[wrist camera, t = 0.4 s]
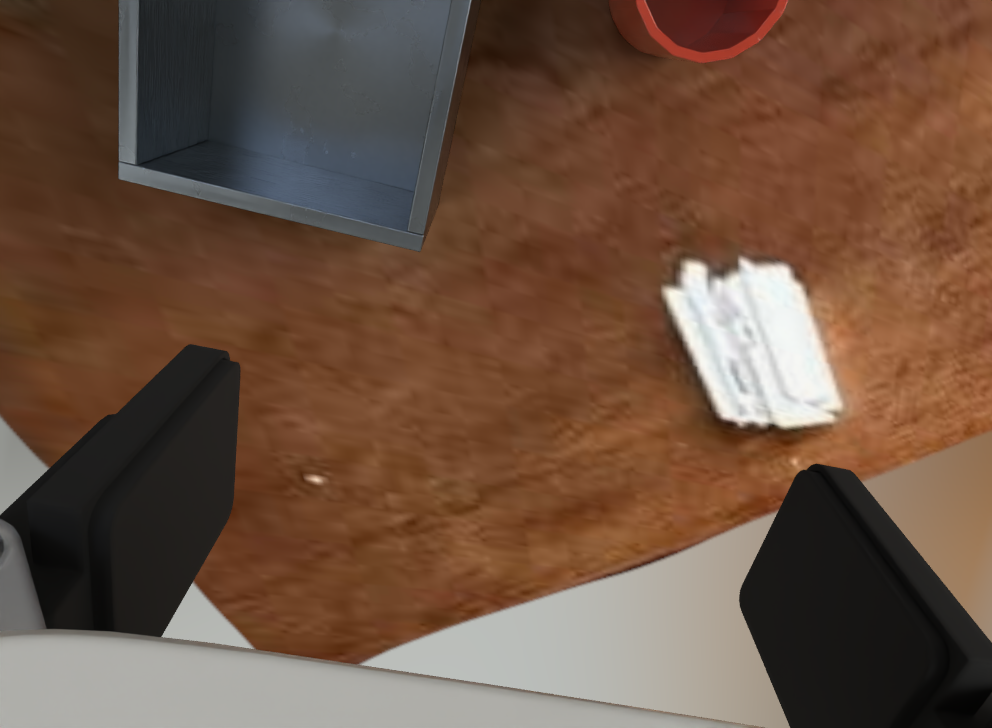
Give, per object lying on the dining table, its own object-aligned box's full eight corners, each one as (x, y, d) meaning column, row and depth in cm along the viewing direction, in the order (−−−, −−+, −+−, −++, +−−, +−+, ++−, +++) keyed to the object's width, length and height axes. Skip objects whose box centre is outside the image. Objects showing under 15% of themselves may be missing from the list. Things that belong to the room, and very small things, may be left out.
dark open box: (218, -192, 31) (118, -272, 23) (503, -107, 32) (503, -155, 24) (200, 148, 38) (117, 179, 30) (437, 207, 39) (420, 252, 31)
